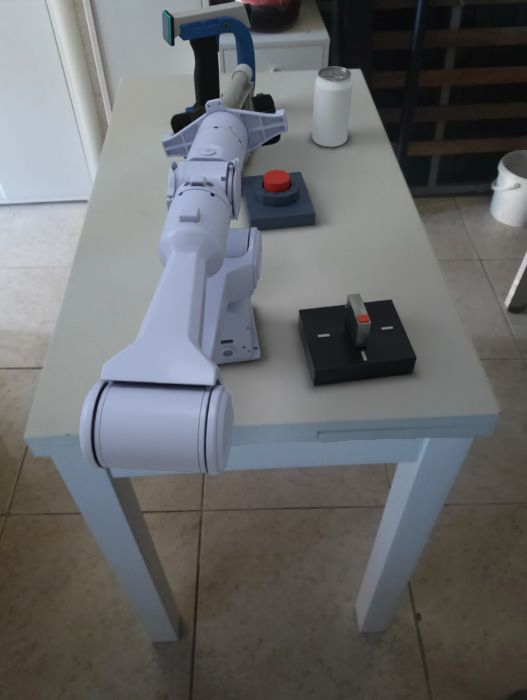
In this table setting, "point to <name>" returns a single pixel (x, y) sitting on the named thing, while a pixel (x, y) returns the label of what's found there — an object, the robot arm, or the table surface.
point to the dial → (357, 320)
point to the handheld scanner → (211, 42)
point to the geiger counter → (240, 92)
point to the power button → (276, 181)
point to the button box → (277, 204)
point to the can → (332, 106)
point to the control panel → (338, 349)
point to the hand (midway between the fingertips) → (232, 108)
